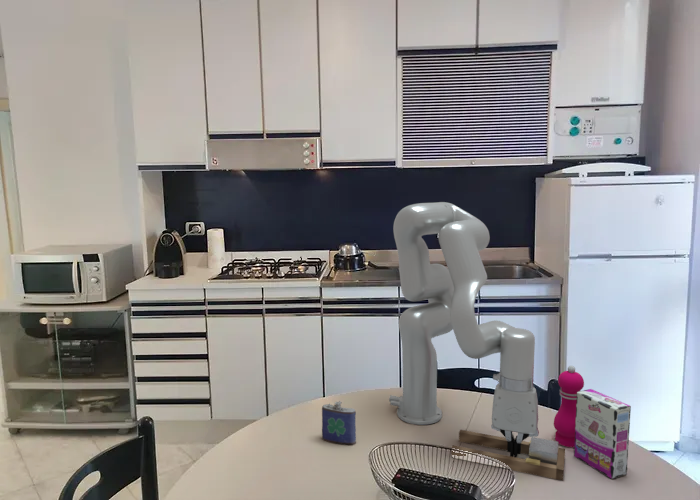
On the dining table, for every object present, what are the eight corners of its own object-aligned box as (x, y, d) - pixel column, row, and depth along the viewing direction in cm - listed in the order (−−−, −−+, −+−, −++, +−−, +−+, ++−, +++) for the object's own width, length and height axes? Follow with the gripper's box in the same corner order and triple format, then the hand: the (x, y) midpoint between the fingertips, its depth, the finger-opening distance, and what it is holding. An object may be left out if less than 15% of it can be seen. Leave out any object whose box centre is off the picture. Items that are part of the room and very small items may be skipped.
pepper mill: (586, 449, 129) (590, 371, 126) (555, 447, 130) (558, 370, 127) (580, 435, 136) (583, 361, 133) (550, 433, 137) (553, 360, 134)
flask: (357, 441, 134) (356, 401, 133) (353, 447, 132) (352, 406, 130) (324, 435, 138) (323, 396, 136) (319, 440, 135) (318, 401, 134)
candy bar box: (628, 474, 118) (632, 405, 116) (612, 480, 116) (616, 410, 114) (588, 451, 128) (591, 387, 126) (572, 456, 126) (575, 391, 124)
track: (451, 457, 126) (451, 446, 126) (460, 438, 135) (460, 427, 135) (563, 480, 116) (563, 468, 116) (564, 458, 125) (565, 446, 125)
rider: (528, 469, 121) (529, 448, 120) (530, 456, 126) (531, 436, 126) (556, 474, 119) (557, 454, 118) (557, 461, 124) (558, 441, 123)
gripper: (480, 383, 122) (479, 456, 124) (549, 392, 116) (546, 470, 118) (486, 372, 129) (484, 442, 131) (551, 380, 123) (548, 453, 125)
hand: (513, 455), depth 125 cm, fingers closed
